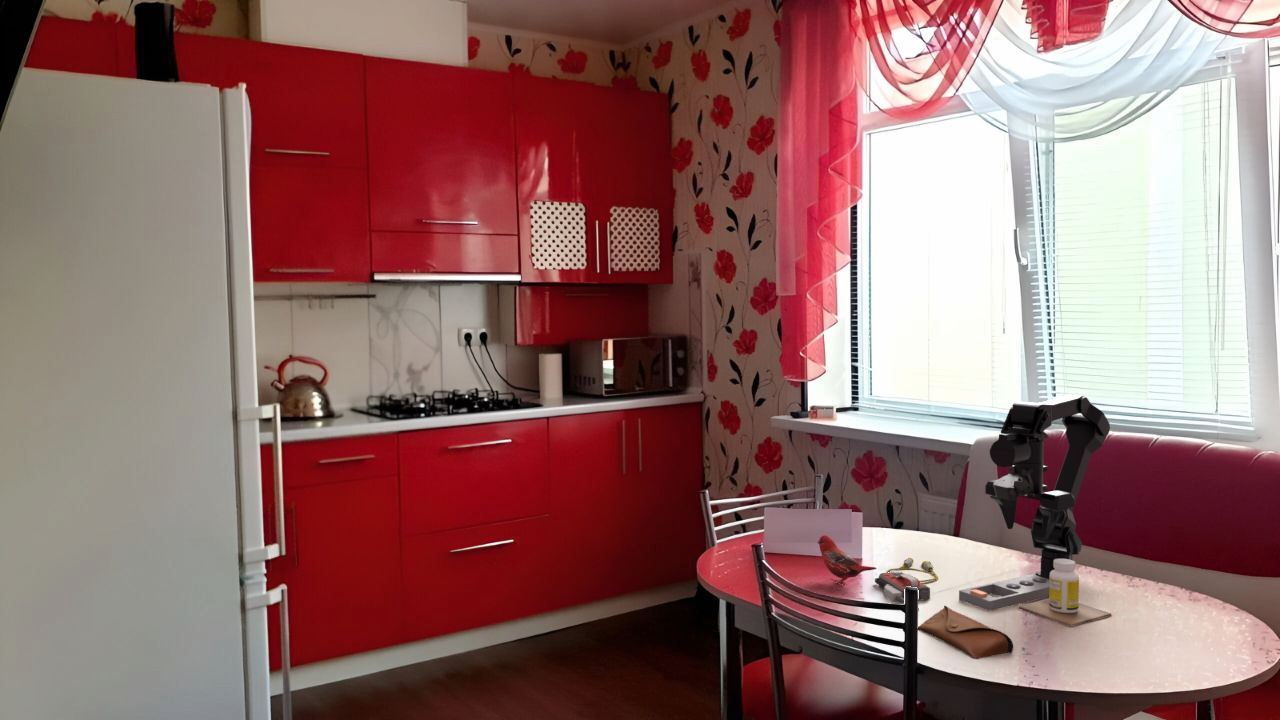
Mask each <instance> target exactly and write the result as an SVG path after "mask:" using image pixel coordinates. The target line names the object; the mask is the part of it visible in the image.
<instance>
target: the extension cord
mask: <svg viewBox="0 0 1280 720" xmlns="http://www.w3.org/2000/svg"><path fill="white" fill-rule="evenodd" d="M913 564H914V559H913V558H912V557H908V558H906V559H905V560H904V561H903V564H902V566H900V567H897V568H896V567H895V568H889V569H888V570H886V572H885V573H888V572H890V571H891V572H892V571H895V570H896V571H900V570H910V569H911V570H910V571H917V572H922V573H926V574H929V575H931V576H933V577H934V578H931V579H930V578H929V579H923V580H919V582H920V583H922V584H924V585H925V584H932V583H935V582H938V580H939V576H937V574H936V573H935V572H934V566H933V565H932V562H931V561H927V560H924V561H922V562H921V565H920V566H921V568H923V569H924V570H921V569H917V568H913V567H912V565H913ZM911 567H912V568H911ZM925 570H926V571H925Z"/></svg>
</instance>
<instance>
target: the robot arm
mask: <svg viewBox="0 0 1280 720" xmlns="http://www.w3.org/2000/svg"><path fill="white" fill-rule="evenodd" d="M1056 420H1061V422H1062V424H1063V425H1064V427H1065V437H1066V439H1067V443H1068V448H1067V451H1066V454H1065V456H1064V460H1063V463H1062V465H1061V469H1060V471H1059V474H1058V477H1057V480H1056V483H1055V486H1054V489H1053V490H1052V491H1048V485H1046V484H1044V472H1048V465H1044V442H1045V441H1044V440H1046V439H1048V438H1049V435H1048V434H1047V433H1046V432H1045V430H1047V429H1048V428H1050V427H1051V426H1052V425H1053V424H1052V422H1054V421H1056ZM1002 425H1003V426H1002V428H1001V430H1000V433H999V434H998V439H997V440H995V441H994V442H993V443H992V444H991V446H990V449H989V457H990V459H991V460H992V462H993V463H994V465H996V466H998V467H1000V468H1008V467H1009V468H1008V474H1006V475H1003V476H1001V477H1000V478H998V479H993V480H988V481H987V482H986V484H985V486H984V494H986V495H989V498H990V499H992V501H994V502H996V503H997V504H998V506H999V508H1000V510H1001V513H1002V515H1003V519H1004V521H1005V525H1006V527H1007V530H1012V529H1013V528H1014V524H1015V520H1016V519H1015V518H1016V514H1017V513H1016V511H1017V504H1018V498H1019V497H1020V498H1021V497H1022V498H1024V499H1025V498H1026V499H1031V500H1036V501H1038V502H1039V504H1040V505H1039V506H1038V507H1037V509H1036V512H1035V515H1034V519H1032V524H1031V527H1030V534H1031V539H1032V543H1033V544H1032V545H1033V547H1034V548H1035V549H1041V557H1040V571H1037V572H1035V573H1034V575H1037V576H1040V577H1043V578H1047V579H1049V576H1050V572H1051V571H1052V570H1055V568H1054V566H1053V563H1054V560H1055V559H1069V560H1073V555H1075V556H1076V555H1080V552H1081V551H1082V545H1083V542H1082V540H1081V538H1080V537H1079V535H1078V534H1077V532H1076V527H1077V523H1076V521H1075V517H1074V513H1073V511H1074V508H1075V504H1076V501H1077V498H1078V495H1079V492H1080V490H1081V487H1082V483H1083V481H1084V478H1085V474H1086V472H1087V468H1088V465H1089V462H1090V459H1091V456H1092V455H1093V454H1094V453H1095V452H1096V451H1098V450H1099V448H1101V447H1103V446H1104V443H1105V441H1106V439H1107V436H1108V435H1109V434H1110V430H1111V425H1110V421H1109V420H1108V418H1107V417H1106V415H1105V413H1104V412H1103V411H1102V410H1101V409H1099V408H1098V407H1096V405H1094V404H1092V403H1091V402H1090V400H1089V399H1088V397H1085V396H1084V395H1076V394H1066V395H1062V396H1061V397H1057V398H1053V399H1048V400H1046V401H1042V402H1030V401H1029V402H1028V401H1016V402H1014V403H1013V404H1012V406H1011V407H1010V409H1009V411H1008V413H1007V415H1006V418H1005V421H1004V423H1003V424H1002Z"/></svg>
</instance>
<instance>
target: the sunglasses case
mask: <svg viewBox="0 0 1280 720" xmlns="http://www.w3.org/2000/svg"><path fill="white" fill-rule="evenodd" d="M917 627H918V629H917V630H919V631H921V632H923V633H925V634H928V635H930V636H932V637H934V638H936V639H939V640H940V641H942V642H944V643H946V644H948V645H950V646H952V647H953V648H955V649H958V651H961V652H963V653H965V654H967V655H968V656H969V657H971V658H973V659H976V660H981V659H983V658H989V657H995V656H1001V655H1006V654H1012V653H1013V650H1014V643H1013V640H1012V639H1011V637H1010V636H1009V635H1008V634H1006V633H1005V632H1002V631H1000V630H998V629H995V628H991V627H989V626H987V625H986V624H984V623H982V622H979V621H977V620H976V619H973V618H972V617H968V616H967V615H965V614H962V613H961V612H957V611H956V610H952V609H951V608H949V607H948V606H947V605H944V606H943V608H942V609H940V610H939V611H938V612H936V613H935V614H933V615H932V616H931V617H929V618H928V619H926V620H925V621H923V622H922V623H921V624H920V625H919V626H917Z"/></svg>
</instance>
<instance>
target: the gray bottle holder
mask: <svg viewBox="0 0 1280 720" xmlns="http://www.w3.org/2000/svg"><path fill="white" fill-rule="evenodd" d="M992 594H994V595H997V596H999V597H994V596H991V595H992ZM1045 598H1049V579H1047V578H1043V577H1040V576H1037V575H1035V573H1034V574H1033V573H1031V574H1026V575H1022V576H1021V575H1020V576H1016V577H1013V578H1009V579H1004V580H1000V581H994V582H990V583H986V584H982V585H978V586H973V587H968V588H964V589H959V590H958V601H961V602H963V603H967V604H969V605H971V606H974V607H977V608H981V609H983V610H986V611H988V612H991V611H995V610H999V609H1004V608H1008V607H1012V606H1016V605H1020V604H1024V603H1028V602H1032V601H1035V600H1036V601H1037V600H1041V599H1045Z"/></svg>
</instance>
